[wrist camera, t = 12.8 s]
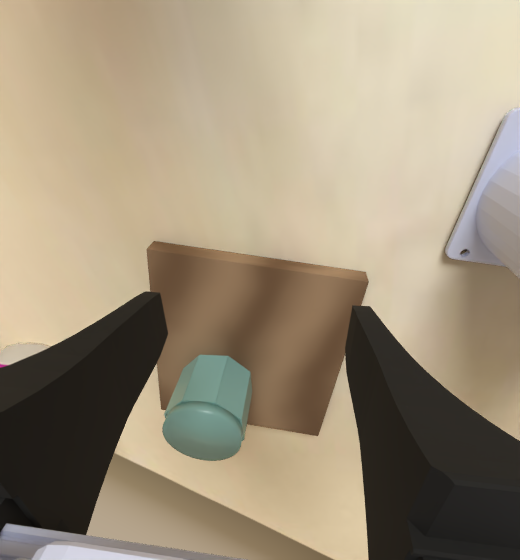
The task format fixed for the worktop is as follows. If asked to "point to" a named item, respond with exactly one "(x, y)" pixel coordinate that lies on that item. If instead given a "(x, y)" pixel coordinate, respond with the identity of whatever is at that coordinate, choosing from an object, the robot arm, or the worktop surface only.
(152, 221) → the worktop surface
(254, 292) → the stud board
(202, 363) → the cap
